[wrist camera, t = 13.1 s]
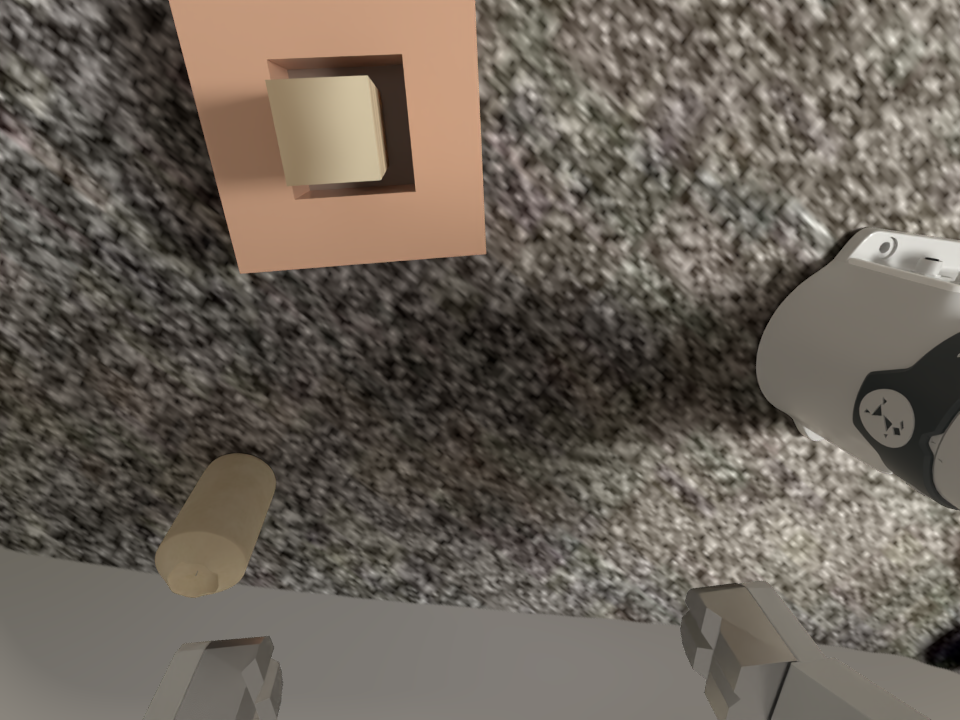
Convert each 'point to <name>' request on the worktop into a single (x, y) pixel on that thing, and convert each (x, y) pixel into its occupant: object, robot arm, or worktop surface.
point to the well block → (406, 112)
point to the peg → (329, 129)
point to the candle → (217, 527)
